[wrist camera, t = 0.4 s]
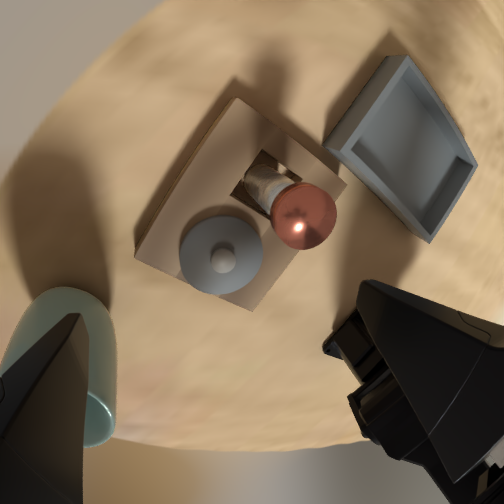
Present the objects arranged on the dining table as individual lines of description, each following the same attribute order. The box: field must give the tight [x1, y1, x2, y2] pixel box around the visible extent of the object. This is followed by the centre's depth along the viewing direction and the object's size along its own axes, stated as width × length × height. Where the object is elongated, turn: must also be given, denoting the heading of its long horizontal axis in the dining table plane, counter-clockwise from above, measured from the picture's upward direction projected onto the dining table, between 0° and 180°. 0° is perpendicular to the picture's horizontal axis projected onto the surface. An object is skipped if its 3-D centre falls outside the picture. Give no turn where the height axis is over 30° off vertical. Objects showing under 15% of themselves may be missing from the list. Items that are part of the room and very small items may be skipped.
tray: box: [322, 55, 478, 244], centre depth 22 cm, size 14×10×2 cm
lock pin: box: [244, 164, 337, 250], centre depth 18 cm, size 3×3×8 cm
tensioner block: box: [134, 97, 347, 312], centre depth 21 cm, size 10×12×3 cm
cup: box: [0, 287, 117, 448], centre depth 17 cm, size 8×8×10 cm
